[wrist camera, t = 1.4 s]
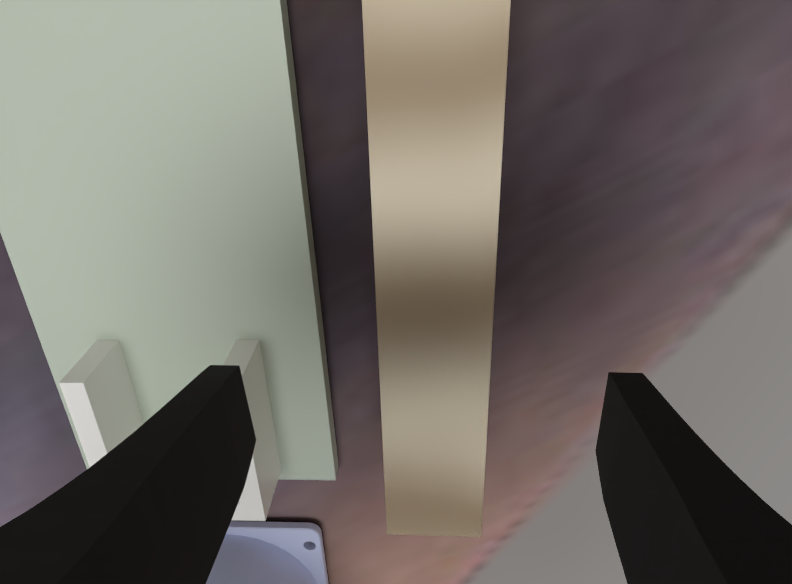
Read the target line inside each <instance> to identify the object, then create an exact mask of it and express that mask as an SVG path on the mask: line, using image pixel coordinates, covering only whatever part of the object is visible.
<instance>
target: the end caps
mask: <svg viewBox="0 0 792 584" xmlns="http://www.w3.org/2000/svg"><path fill="white" fill-rule="evenodd" d="M223 365H238V366H240V371H241V375H242V380H243V384H244V388H245V393H246V397H247V401H248V406H249V410H250V415H251V419H252V423H253V428H254V432H255V436H256V443H255V447H254V452H253V456H252V460H251V464H250V468H249V472H248V475H247V479H246V483H245V486H244V489H243V492H242V494H241V497H240V499H239V502H238V505H237V507H236V510H235V512H234V515H233V517H232V520H240V521H266V518H267V515H268V512H269V508H270V505H271V502H272V499H273V495H274V492H275V489H276V486H277V482H278V479H279V476H280V473H281V465H280V459H279V454H278V448H277V442H276V436H275V430H274V424H273V418H272V412H271V407H270V401H269V395H268V389H267V383H266V377H265V371H264V365H263V360H262V354H261V348H260V342H259V340H236V342H235V343H234V345H233V347H232V349H231V351H230V353H229V355H228V357H227V359H226V360H225V362H224V364H223ZM59 384H60V387H61V390H62V393H63V396H64V398H65V401H66V404H67V407H68V409H69V412H70V415H71V418H72V420H73V423H74V426H75V429H76V431H77V434H78V437H79V440H80V442H81V445H82V448H83V451H84V453H85V456H86V459H87V462H88V464H89V467H91V466H92V465H94V464H95V463H96V462H97V461H98V460H100V459H101V458H102V457H103V456H105V455H106V454H107V453H108V452H110V451H111V450H112V449H113V448H115V447H116V446H117V445H118V444H120V443H121V442H122V441H123V440H125V439H126V438H127V437H128V436H130V435H131V434H132V433H133V432H135V431H136V430H137V429H138V428H139V427H140V426H141V425H143V424H144V423H143V420H142V416H141V413H140V409H139V406H138V403H137V399H136V396H135V392H134V389H133V386H132V382H131V379H130V376H129V372H128V369H127V365H126V362H125V359H124V355H123V352H122V348H121V345H120V342H119V340H97V341H96V342H95V343H94V344H93V345H92V346H91V347H90V349H89V350H88V351H87V352H86V353H85V354H84V355H83V356H82V358H81V359H80V360H79V361H78V362H77V363H76V364H75V365H74V366H73V368H72V369H71V370H70V371H69V372H68V373H67V374H66V375H65V377H64V378H63V379H62V380H61V381H60V382H59Z"/></svg>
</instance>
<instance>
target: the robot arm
mask: <svg viewBox="0 0 792 584" xmlns="http://www.w3.org/2000/svg"><path fill="white" fill-rule="evenodd" d="M255 443H256V436H255V432H254V428H253V423H252V419H251V415H250V410H249V406H248V401H247V397H246V393H245V388H244V384H243V380H242V375H241V371H240V366H238V365H210V366H208V367H207V368H206V369H205V370H204V371H202V372H201V373H200V374H199V375H198V376H197V377H196V378H194V379H193V380H192V381H191V382H190V383H189V384H188V385H187V386H186V387H184V388H183V389H182V390H181V391H180V392H179V393H178V394H177V395H176V396H174V397H173V398H172V399H171V400H170V401H169V402H168V403H167V404H166V405H164V406H163V407H162V408H161V409H160V410H159V411H157V412H156V413H155V414H154V415H153V416H152V417H151V418H149V419H148V420H147V421H146V422H145V423H144V424H143V425H141V426H140V427H139V428H138V429H137V430H136V431H135V432H133V433H132V434H131V435H130V436H128V437H127V438H126V439H125V440H123V441H122V442H121V443H120V444H118V445H117V446H116V447H115V448H113V449H112V450H111V451H110V452H108V453H107V454H106V455H105V456H103V457H102V458H101V459H100V460H98V461H97V462H96V463H95V464H94V465H92V466H91V467H90V468H88V469H87V470H86V471H84V472H83V473H82V474H80V475H79V476H78V477H76V478H75V479H73V480H72V481H71V482H69V483H68V484H67V485H65V486H64V487H62V488H61V489H59V490H58V491H56V492H55V493H53V494H52V495H50V496H49V497H48V498H46V499H45V500H43V501H42V502H40V503H39V504H37V505H36V506H34V507H33V508H31V509H30V510H28V511H26V512H25V513H23V514H21V515H20V516H18V517H16V518H15V519H13V520H11V521H10V522H8V523H6V524H5V525H3V526H2V527H0V584H329V582H328V575H327V567H326V560H325V553H324V546H323V538H322V531H321V529H320V527H319V526H318V525H316V524H314V523H308V522H255V521H231V520H232V517H233V515H234V512H235V510H236V507H237V505H238V502H239V499H240V497H241V494H242V492H243V489H244V486H245V483H246V479H247V475H248V472H249V468H250V464H251V460H252V456H253V452H254V447H255ZM596 456H597V463H598V469H599V476H600V482H601V487H602V494H603V499H604V503H605V507H606V511H607V514H608V518H609V521H610V525H611V528H612V532H613V535H614V539H615V542H616V546H617V549H618V553H619V556H620V559H621V563H622V566H623V569H624V573H625V576H626V580H627V583H628V584H792V525H791V524H790V523H789V522H788V521H786V520H785V519H784V518H783V517H782V516H780V515H779V514H778V513H777V512H776V511H775V510H773V509H772V508H771V507H770V506H769V505H768V504H766V503H765V502H764V501H763V500H762V499H761V498H760V497H759V496H758V495H757V494H756V493H754V491H752V490H751V489H750V488H749V487H748V486H747V485H746V484H745V483H744V482H743V481H742V480H740V478H739V477H738V476H737V475H736V474H734V472H733V471H732V470H731V469H730V468H729V467H727V465H726V464H725V463H724V462H723V461H722V460H721V459H720V458H719V457H718V456H717V455H716V454H715V453H714V452H713V451H712V450H711V449H710V448H709V447H708V446H707V445H706V444H705V443H704V442H703V440H702V439H701V438H700V437H699V436H698V435H697V434H696V433H695V432H694V431H693V430H692V429H691V428H690V426H689V425H688V424H687V423H686V422H685V421H684V420H683V419H682V418H681V417H680V415H679V414H678V413H677V412H676V411H675V410H674V409H673V407H672V406H671V405H670V404H669V403H668V402H667V400H665V398H664V397H663V396H662V395H661V394H660V392H659V391H658V390H657V389H656V388H655V387H654V385H653V384H652V383H651V382H650V381H649V380H648V379H647V378H646V377H645V375H644V374H643V373H611V372H609V374H608V380H607V386H606V392H605V398H604V404H603V410H602V416H601V422H600V428H599V434H598V440H597V446H596ZM308 541H309V542H308Z"/></svg>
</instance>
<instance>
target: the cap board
mask: <svg viewBox="0 0 792 584" xmlns="http://www.w3.org/2000/svg"><path fill="white" fill-rule="evenodd" d="M0 233H1V235H2V238H3V241H4V243H5V246H6V249H7V252H8V254H9V257H10V260H11V263H12V265H13V268H14V271H15V274H16V276H17V279H18V282H19V285H20V287H21V290H22V293H23V295H24V298H25V301H26V304H27V306H28V309H29V312H30V315H31V317H32V320H33V323H34V326H35V328H36V331H37V334H38V336H39V339H40V342H41V345H42V347H43V350H44V353H45V356H46V358H47V361H48V364H49V367H50V369H51V372H52V375H53V377H54V380H55V383H56V386H57V388H58V391H59V394H60V397H61V399H62V402H63V405H64V408H65V410H66V413H67V416H68V418H69V421H70V424H71V427H72V429H73V432H74V435H75V438H76V440H77V443H78V446H79V449H80V451H81V454H82V457H83V459H84V462H85V465H86V468H87V469H88V468H90V467H89V464H88V462H87V459H86V456H85V453H84V451H83V448H82V445H81V442H80V440H79V437H78V434H77V431H76V429H75V426H74V423H73V420H72V418H71V415H70V412H69V409H68V407H67V404H66V401H65V398H64V396H63V393H62V390H61V387H60V384H59V382H60V381H61V380H62V379H63V378H64V377H65V375H66V374H67V373H68V372H69V371H70V370H71V369H72V368H73V366H74V365H75V364H76V363H77V362H78V361H79V360H80V359H81V358H82V356H83V355H84V354H85V353H86V352H87V351H88V350H89V349H90V347H91V346H92V345H93V344H94V343H95V342H96V341H97V340H119V342H120V345H121V348H122V352H123V355H124V359H125V362H126V365H127V369H128V372H129V376H130V379H131V382H132V386H133V389H134V392H135V396H136V399H137V403H138V406H139V409H140V413H141V416H142V420H143V423H145V422H146V421H147V420H148V419H149V418H151V417H152V416H153V415H154V414H155V413H156V412H157V411H159V410H160V409H161V408H162V407H163V406H164V405H166V404H167V403H168V402H169V401H170V400H171V399H172V398H173V397H174V396H176V395H177V394H178V393H179V392H180V391H181V390H182V389H183V388H184V387H186V386H187V385H188V384H189V383H190V382H191V381H192V380H193V379H194V378H196V377H197V376H198V375H199V374H200V373H201V372H202V371H204V370H205V369H206V368H207V367H208V366H210V365H223V364H224V362H225V360H226V359H227V357H228V355H229V353H230V351H231V349H232V347H233V345H234V343H235V342H236V340H259V342H260V348H261V354H262V360H263V365H264V371H265V377H266V383H267V389H268V395H269V401H270V407H271V412H272V418H273V424H274V430H275V436H276V442H277V448H278V454H279V459H280V465H281V473H280V476H279V479H283V480H336V477H337V471H338V466H339V464H338V455H337V446H336V437H335V428H334V420H333V411H332V402H331V393H330V384H329V375H328V366H327V357H326V348H325V339H324V330H323V321H322V312H321V303H320V294H319V285H318V276H317V268H316V259H315V250H314V241H313V232H312V223H311V214H310V205H309V196H308V187H307V178H306V169H305V160H304V151H303V142H302V133H301V124H300V116H299V107H298V98H297V89H296V80H295V71H294V62H293V53H292V44H291V35H290V26H289V17H288V8H287V0H0Z"/></svg>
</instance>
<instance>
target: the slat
mask: <svg viewBox="0 0 792 584" xmlns="http://www.w3.org/2000/svg"><path fill="white" fill-rule="evenodd" d="M510 3H511V0H362V13H363V34H364V56H365V77H366V98H367V120H368V141H369V162H370V184H371V205H372V226H373V248H374V269H375V291H376V312H377V333H378V355H379V376H380V397H381V419H382V440H383V461H384V483H385V504H386V526H387V534H395V535H425V536H456V537H481V532H482V513H483V495H484V477H485V459H486V441H487V422H488V404H489V386H490V368H491V349H492V331H493V313H494V295H495V276H496V258H497V240H498V222H499V203H500V185H501V167H502V149H503V130H504V112H505V94H506V76H507V57H508V39H509V21H510Z"/></svg>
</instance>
